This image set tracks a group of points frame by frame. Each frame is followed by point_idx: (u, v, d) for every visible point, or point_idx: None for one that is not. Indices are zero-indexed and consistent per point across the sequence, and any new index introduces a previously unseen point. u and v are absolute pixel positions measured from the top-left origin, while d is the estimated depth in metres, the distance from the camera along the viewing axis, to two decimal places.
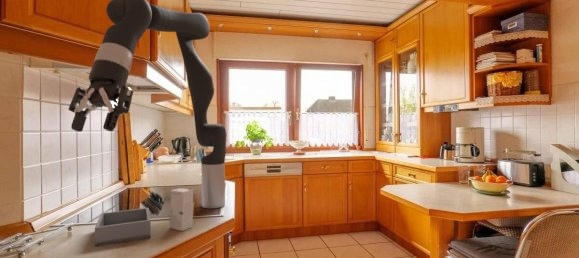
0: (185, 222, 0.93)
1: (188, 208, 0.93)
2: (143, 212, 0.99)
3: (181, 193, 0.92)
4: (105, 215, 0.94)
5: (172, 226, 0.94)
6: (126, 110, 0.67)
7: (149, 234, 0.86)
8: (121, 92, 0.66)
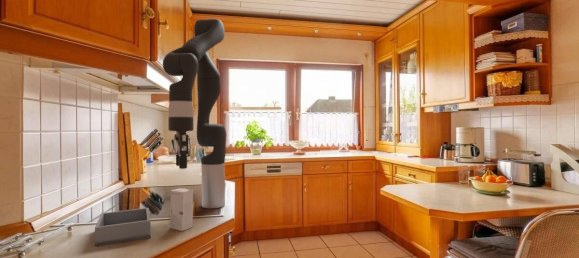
0: (185, 222, 0.93)
1: (188, 208, 0.93)
2: (143, 212, 0.99)
3: (181, 193, 0.92)
4: (105, 215, 0.94)
5: (172, 226, 0.94)
6: (186, 153, 0.89)
7: (149, 234, 0.86)
8: (179, 141, 0.89)
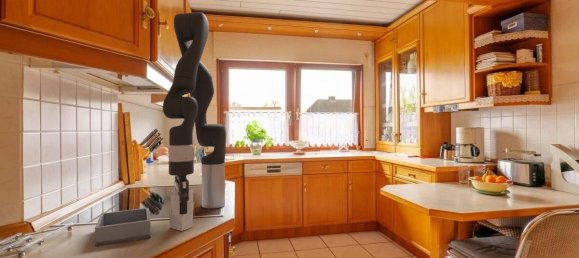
0: (185, 222, 0.93)
1: (188, 208, 0.93)
2: (143, 212, 0.99)
3: None
4: (105, 215, 0.94)
5: (172, 226, 0.94)
6: (187, 199, 0.89)
7: (149, 234, 0.86)
8: (179, 188, 0.89)
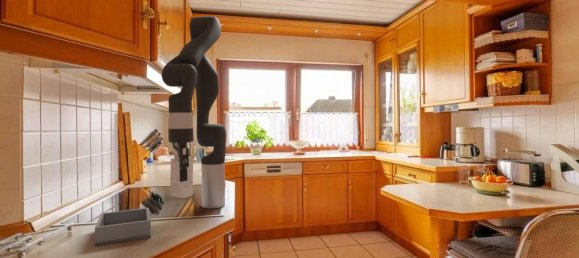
0: (186, 189, 0.93)
1: (188, 176, 0.94)
2: (143, 212, 0.99)
3: None
4: (105, 215, 0.94)
5: (172, 194, 0.94)
6: (187, 166, 0.89)
7: (149, 234, 0.86)
8: (179, 154, 0.89)
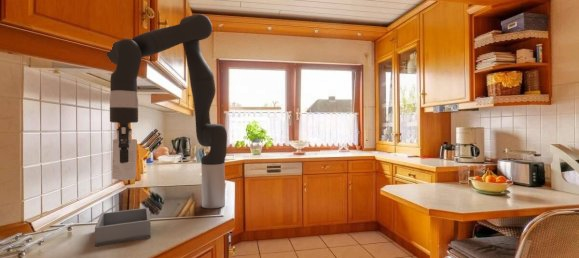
0: (127, 172, 0.88)
1: (130, 157, 0.89)
2: (143, 212, 0.99)
3: None
4: (105, 215, 0.94)
5: (114, 177, 0.89)
6: (126, 146, 0.84)
7: (149, 234, 0.86)
8: (118, 133, 0.84)
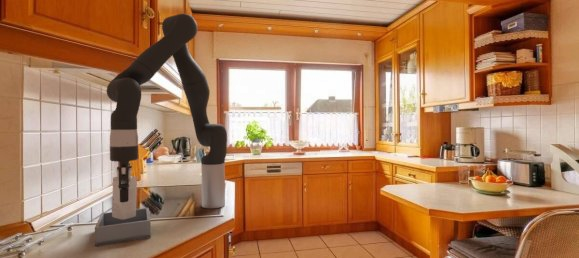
0: (127, 210, 0.88)
1: (130, 196, 0.89)
2: (143, 212, 0.99)
3: None
4: (105, 215, 0.94)
5: (114, 215, 0.89)
6: (126, 186, 0.85)
7: (149, 234, 0.86)
8: (118, 174, 0.84)
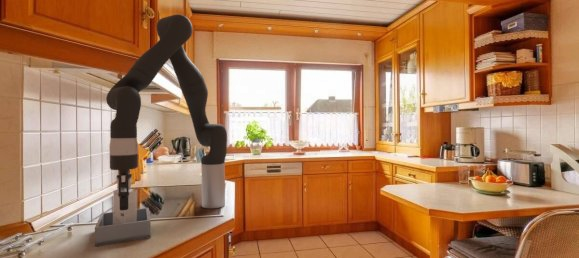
0: None
1: (131, 209, 0.89)
2: (143, 212, 0.99)
3: None
4: (105, 215, 0.94)
5: None
6: (126, 194, 0.84)
7: (149, 234, 0.86)
8: (118, 182, 0.84)
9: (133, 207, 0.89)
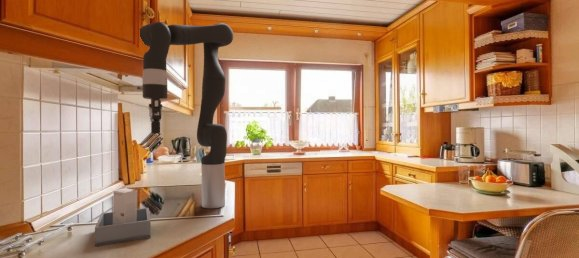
0: None
1: (131, 209, 0.89)
2: (143, 212, 0.99)
3: (122, 193, 0.87)
4: (105, 215, 0.94)
5: None
6: (159, 117, 0.93)
7: (149, 234, 0.86)
8: (152, 106, 0.92)
9: (133, 207, 0.89)
